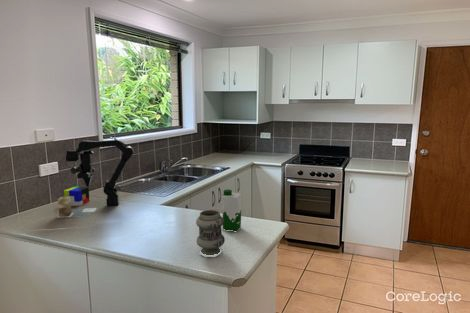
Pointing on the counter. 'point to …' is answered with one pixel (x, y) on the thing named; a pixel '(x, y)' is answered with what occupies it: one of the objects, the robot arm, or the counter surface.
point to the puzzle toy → (77, 195)
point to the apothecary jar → (210, 231)
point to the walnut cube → (65, 212)
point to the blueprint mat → (80, 212)
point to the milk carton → (231, 210)
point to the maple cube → (64, 202)
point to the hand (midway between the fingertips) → (87, 186)
